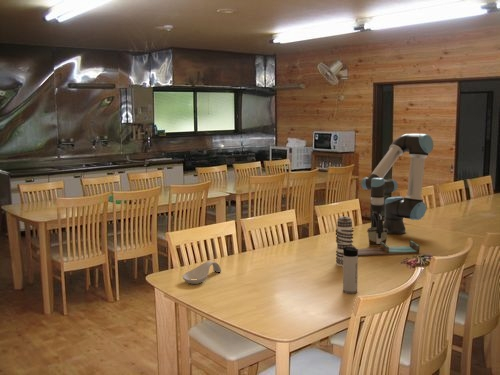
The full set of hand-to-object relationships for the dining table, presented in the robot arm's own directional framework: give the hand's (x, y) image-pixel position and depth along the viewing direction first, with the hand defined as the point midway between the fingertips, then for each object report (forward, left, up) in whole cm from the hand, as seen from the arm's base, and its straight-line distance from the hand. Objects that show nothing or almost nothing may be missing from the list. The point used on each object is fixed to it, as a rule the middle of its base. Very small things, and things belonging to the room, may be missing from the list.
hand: (376, 242), depth 300 cm
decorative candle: (+36, -30, -2) cm, 47 cm away
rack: (+17, -1, -2) cm, 17 cm away
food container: (0, 0, -2) cm, 2 cm away
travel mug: (+76, -39, -2) cm, 85 cm away
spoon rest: (+48, -103, -2) cm, 114 cm away
